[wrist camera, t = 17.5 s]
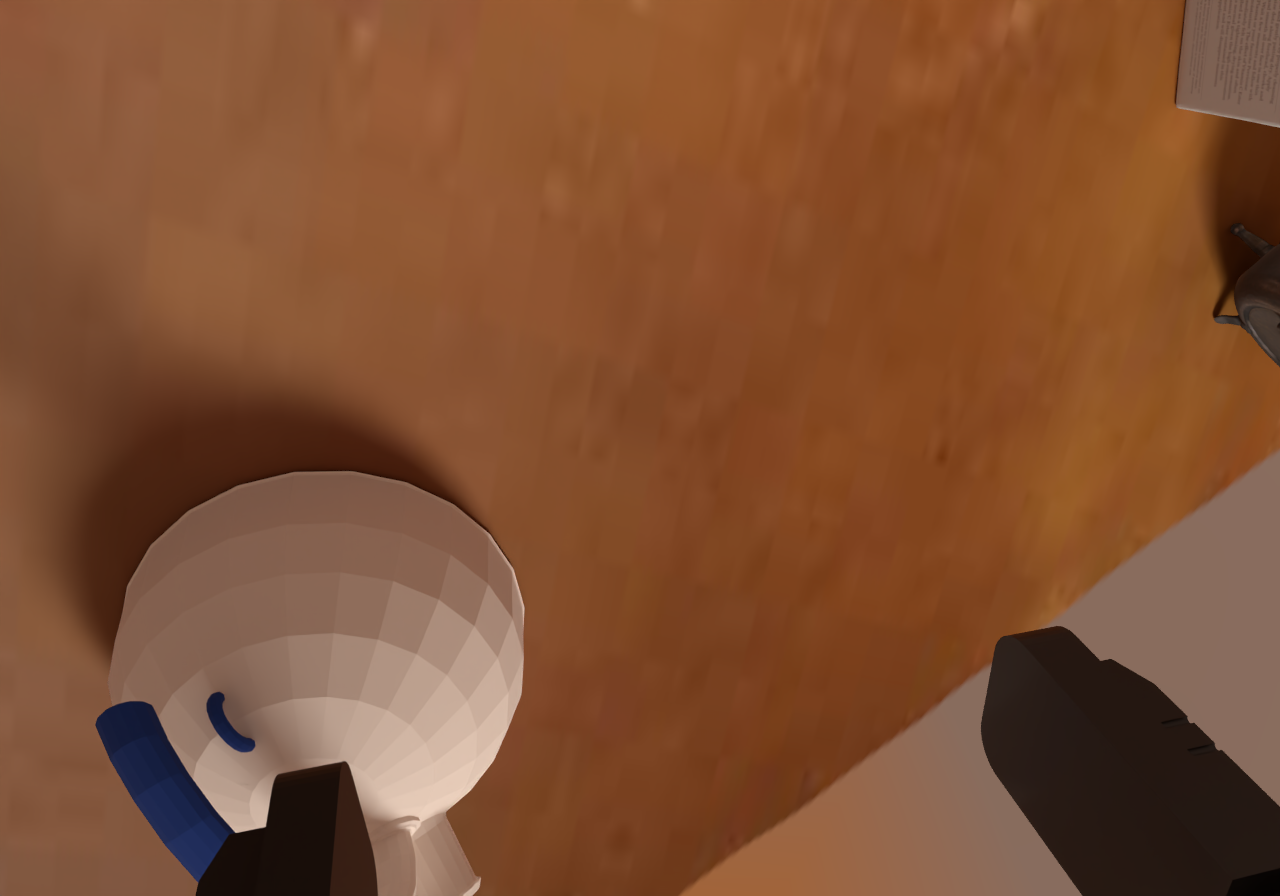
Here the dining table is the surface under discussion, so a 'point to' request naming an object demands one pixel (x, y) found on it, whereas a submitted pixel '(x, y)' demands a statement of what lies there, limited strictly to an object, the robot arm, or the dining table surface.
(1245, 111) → the small box
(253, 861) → the robot arm
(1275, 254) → the alarm clock
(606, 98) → the dining table surface
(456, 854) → the kettle
